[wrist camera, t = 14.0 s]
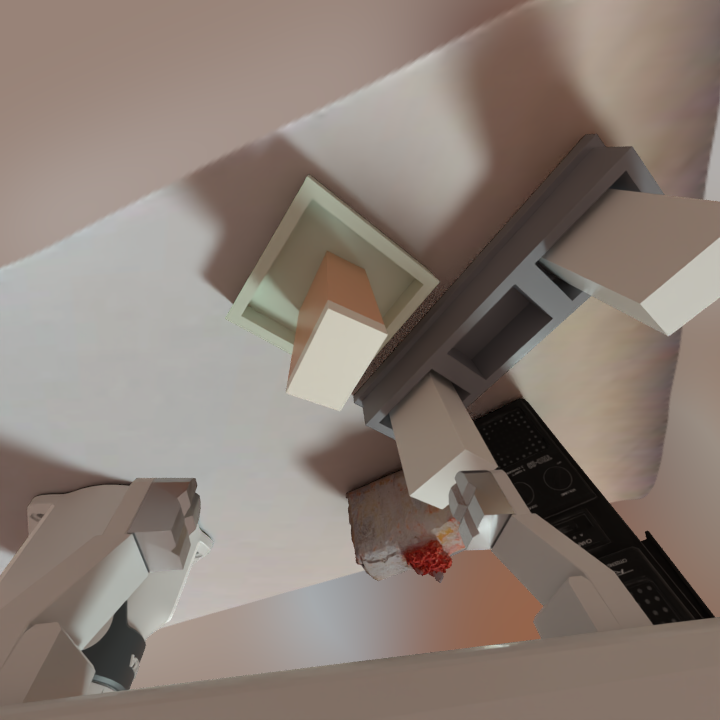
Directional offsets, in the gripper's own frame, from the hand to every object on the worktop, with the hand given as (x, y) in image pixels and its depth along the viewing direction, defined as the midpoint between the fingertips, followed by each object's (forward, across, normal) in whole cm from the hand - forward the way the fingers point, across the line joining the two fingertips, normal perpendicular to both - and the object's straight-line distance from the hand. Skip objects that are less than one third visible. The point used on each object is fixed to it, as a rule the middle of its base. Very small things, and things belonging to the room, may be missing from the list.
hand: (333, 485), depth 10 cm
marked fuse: (+16, -1, -1) cm, 16 cm away
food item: (+17, -11, +22) cm, 30 cm away
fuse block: (+17, -13, 0) cm, 21 cm away
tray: (+17, -1, -1) cm, 17 cm away
